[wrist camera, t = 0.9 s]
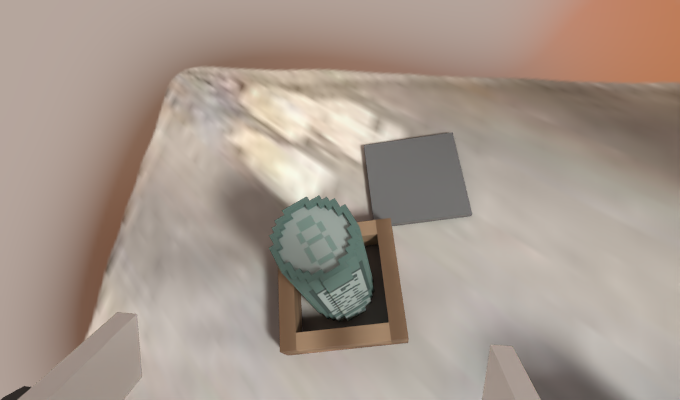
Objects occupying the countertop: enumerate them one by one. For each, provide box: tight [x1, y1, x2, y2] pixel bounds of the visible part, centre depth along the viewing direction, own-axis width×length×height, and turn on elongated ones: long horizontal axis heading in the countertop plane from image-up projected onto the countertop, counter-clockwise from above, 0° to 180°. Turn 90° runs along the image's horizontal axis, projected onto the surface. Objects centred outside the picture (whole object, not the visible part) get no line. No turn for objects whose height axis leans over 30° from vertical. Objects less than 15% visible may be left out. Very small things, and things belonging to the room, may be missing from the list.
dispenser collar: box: [278, 218, 408, 355], centre depth 42 cm, size 11×11×3 cm
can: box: [269, 196, 374, 322], centre depth 36 cm, size 6×6×15 cm
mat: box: [364, 132, 472, 226], centre depth 47 cm, size 10×10×1 cm
